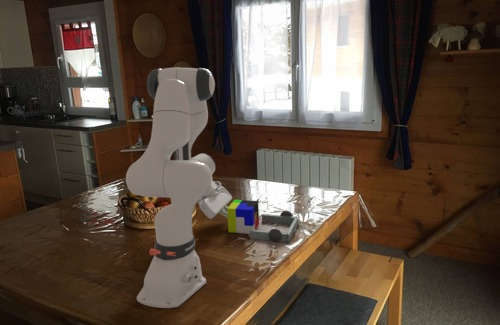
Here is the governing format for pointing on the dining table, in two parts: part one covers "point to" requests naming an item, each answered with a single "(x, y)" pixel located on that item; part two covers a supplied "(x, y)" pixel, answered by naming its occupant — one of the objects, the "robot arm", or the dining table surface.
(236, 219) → the puzzle toy
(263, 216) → the tray
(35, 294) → the dining table surface
